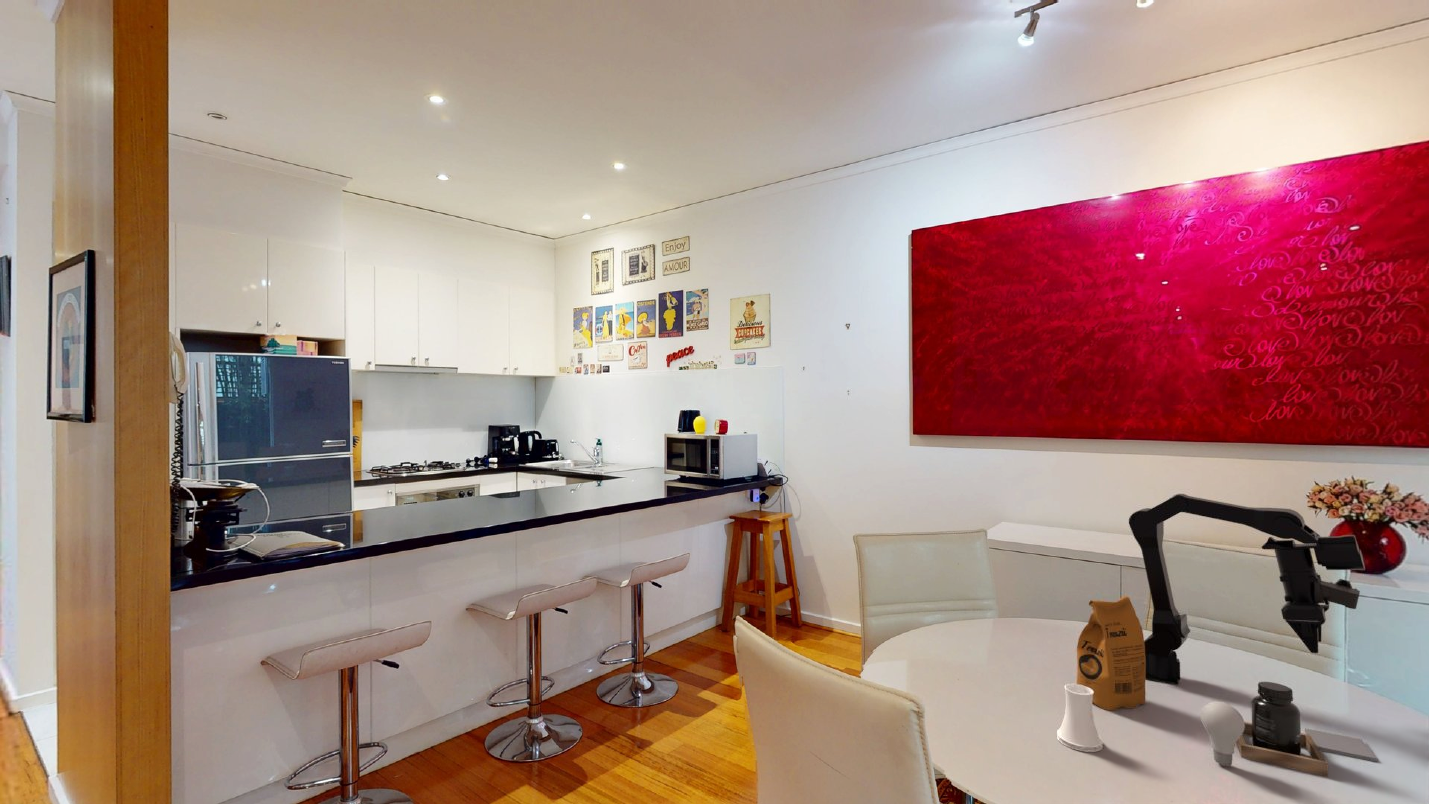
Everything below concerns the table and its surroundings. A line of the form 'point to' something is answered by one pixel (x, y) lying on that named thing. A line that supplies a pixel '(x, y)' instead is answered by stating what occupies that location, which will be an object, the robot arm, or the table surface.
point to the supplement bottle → (1276, 719)
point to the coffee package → (1113, 655)
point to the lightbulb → (1222, 729)
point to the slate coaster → (1341, 744)
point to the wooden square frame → (1285, 754)
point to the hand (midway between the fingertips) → (1316, 647)
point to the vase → (1079, 720)
